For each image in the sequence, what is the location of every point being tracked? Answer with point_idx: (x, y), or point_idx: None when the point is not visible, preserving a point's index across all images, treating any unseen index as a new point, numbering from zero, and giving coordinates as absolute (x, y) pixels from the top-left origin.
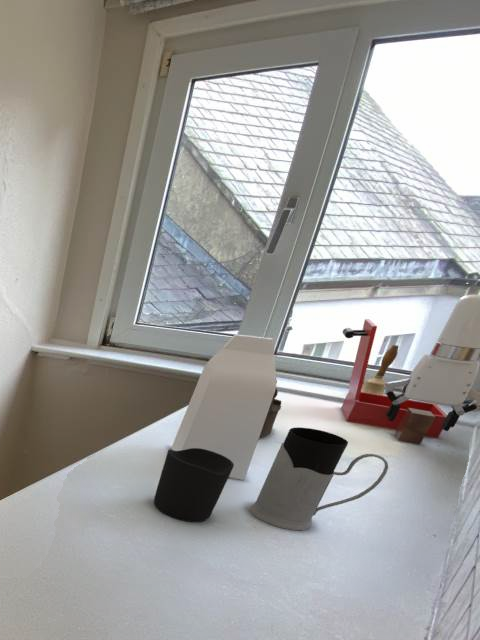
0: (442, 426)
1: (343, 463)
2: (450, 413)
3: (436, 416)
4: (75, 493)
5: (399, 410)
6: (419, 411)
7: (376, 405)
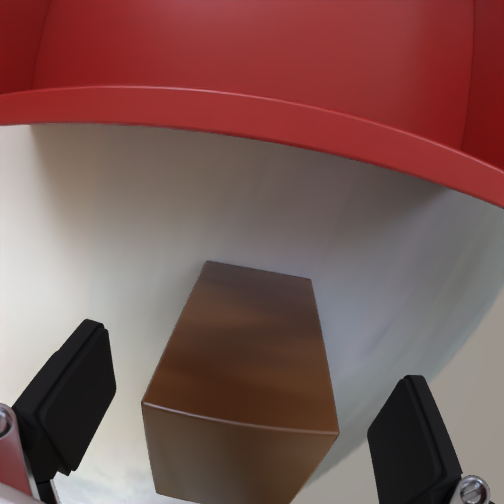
0: (393, 401)
1: (84, 492)
2: (409, 496)
3: (494, 203)
4: None
5: (175, 127)
6: (214, 470)
7: (1, 125)
